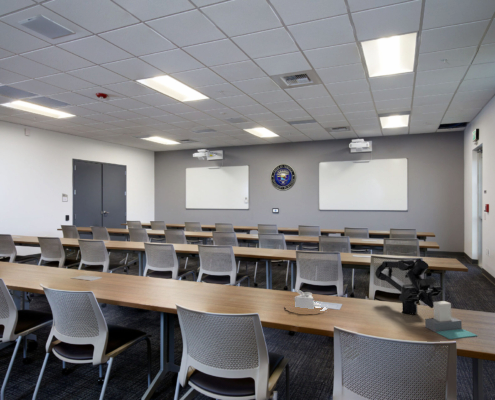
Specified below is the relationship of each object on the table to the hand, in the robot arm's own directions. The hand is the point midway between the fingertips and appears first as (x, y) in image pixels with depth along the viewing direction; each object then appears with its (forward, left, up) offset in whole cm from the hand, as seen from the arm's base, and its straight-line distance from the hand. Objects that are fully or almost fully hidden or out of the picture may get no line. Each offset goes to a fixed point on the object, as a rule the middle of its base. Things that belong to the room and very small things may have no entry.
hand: (432, 307), depth 167 cm
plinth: (+5, -4, -8) cm, 10 cm away
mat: (+11, -9, -8) cm, 16 cm away
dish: (-63, -13, -8) cm, 65 cm away
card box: (+5, -4, -4) cm, 7 cm away
